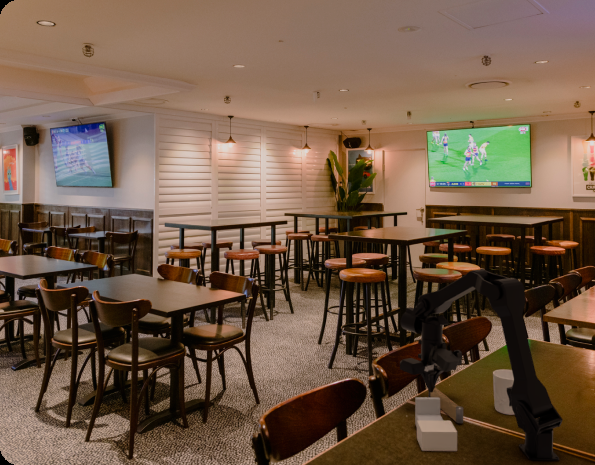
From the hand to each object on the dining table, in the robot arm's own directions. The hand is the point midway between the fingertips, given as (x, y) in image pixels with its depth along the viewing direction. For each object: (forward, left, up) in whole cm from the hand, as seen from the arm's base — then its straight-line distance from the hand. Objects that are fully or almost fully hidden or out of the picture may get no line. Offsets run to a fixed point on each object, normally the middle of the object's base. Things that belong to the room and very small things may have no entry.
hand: (430, 391), depth 145 cm
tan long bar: (-5, -3, -3) cm, 7 cm away
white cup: (-5, -20, -3) cm, 21 cm away
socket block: (-25, +4, -3) cm, 25 cm away
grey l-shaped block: (-18, +4, -3) cm, 19 cm away
